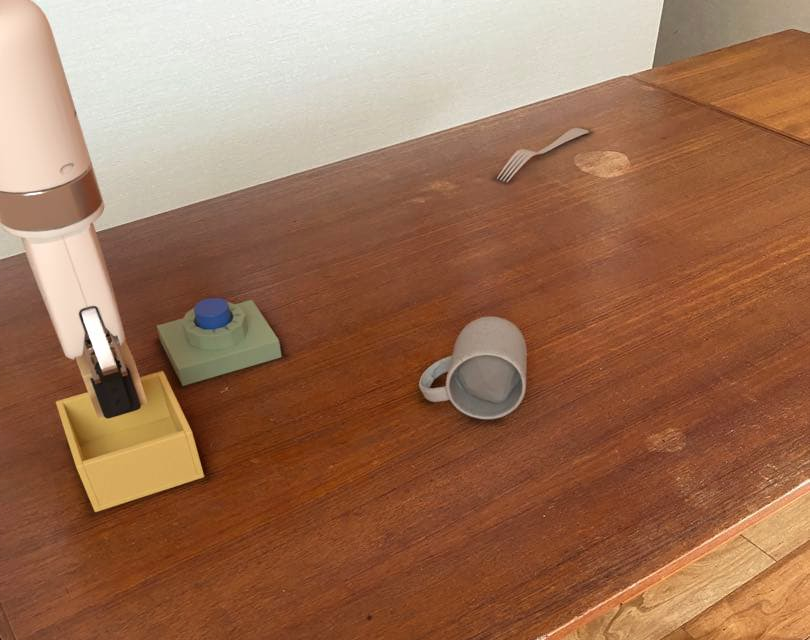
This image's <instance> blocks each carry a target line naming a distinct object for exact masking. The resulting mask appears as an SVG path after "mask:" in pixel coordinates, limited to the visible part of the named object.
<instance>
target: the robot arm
mask: <svg viewBox="0 0 810 640" xmlns="http://www.w3.org/2000/svg"><path fill="white" fill-rule="evenodd" d="M104 210H105V202H104V200H103V196H102V193H101V189H100V185H99V182H98V180H97V176H96V172H95V169H94V166H93V162H92V159H91V156H90V153H89V149H88V145H87V142H86V139H85V136H84V132H83V130H82V126H81V122H80V119H79V116H78V113H77V110H76V106H75V103H74V99H73V96H72V93H71V89H70V86H69V83H68V80H67V76H66V72H65V69H64V67H63V63H62V60H61V55H60V53H59V49H58V46H57V43H56V40H55V36H54V33H53V29H52V27H51V25H50V22H49V19H48V18H47V15H46V14H45V12H44V10H43V9H42V8H41V7H40V6H39V5H37V4H36V2H34V1H33V0H0V226H1V228H2V230H3V231H4V232H5V233H7V234H9V235H11V236H14V237H18V238H20V239H21V243H22V246H23V249H24V252H25V255H26V258H27V260H28V264H29V266H30V269H31V272H32V274H33V277H34V279H35V282H36V284H37V288H38V290H39V292H40V295H41V297H42V300H43V302H44V305H45V307H46V311H47V313H48V316H49V318H50V321H51V323H52V325H53V329H54V331H55V334H56V336H57V339H58V341H59V344H60V346H61V349H62V351H63V354H64V356H65V357H66V358H68V359H70V360H73V361H74V360H76V357H80V356H82V355H83V353H84V355H85V357H86V360H87V363H88V365H89V368H90V371H91V373H92V376H93V378H90V380H91V383H92V385H93V388H94V391H95V393H96V396H97V399H98V402H99V404H100V407H101V410H102V412H103V415H104V417H105V418H108V419H109V418H113V417H116V416H119V415H123V414H126V413H129V412H133V411H136V410H139V409H140V408H141V405H140V401H139V398H138V395H137V392H136V389H135V386H134V383H133V380H132V377H131V374H130V371H129V368H126V367H125V364H124V361H123V358H122V355H121V352H120V349H119V346H118V344H119V345H120V346H122V345H123V343H124V342H125V341H126V335H125V331H124V326H123V323H122V317H121V313H120V310H119V307H118V303H117V298H116V295H115V291H114V288H113V285H112V281H111V277H110V274H109V270H108V267H107V264H106V260H105V256H104V254H103V250H102V247H101V244H100V241H99V237H98V234H97V231H96V227H95V224H94V222H95V221H97V220H98V219H99V218H100V217H101V216H102V215H103V213H104ZM111 349H112V350H113V353H114V356H115V357H113V354H112V351H111ZM93 354H96V357H97V360H98V362H96V365H95V363H94V360H93V357H92V355H93Z"/></svg>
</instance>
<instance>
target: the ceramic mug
mask: <svg viewBox="0 0 810 640" xmlns="http://www.w3.org/2000/svg"><path fill="white" fill-rule="evenodd" d="M452 350H453V352H452V354H451V355H449V356H447V357H444V358H441V359H439V360H437V361H435V362H433V364H431V365H430V366H428V368H427V369H426V370H424V371H423V373H422V375H421V376H420V378H419V381H418V388H419V390H420V392H421V394H422V395H423V397H424V399H426V400H427V401H429V402H432V403H441V402H447V401H450V402H451V404H452V406H454V407H455V408H456V409H457V411H459V412H460V413H463V415H466V416H468V417H471V418H474V419H478V420H479V419H480V420H495V419H496V420H497V419H500V418H503V417H505V416H507V415H509V414H511V413H512V412H513V411H515V410H516V409H517V408H518V407H519V406H520V404H521V403H522V401H523V400H524V398H525V395H526V391H527V370H528V369H527V368H528V367H527V365H528V364H527V361H528V360H527V359H528V351H527V350H528V349H527V344H526V340H525V337H524V334H523V333H522V331H521V330H520V329H519V327H518V326H517V325H516V324H515V323H513V322H512V321H510V320H508V319H507V318H504V317H500V316H496V315H485V316H480V317H477V318H476V319H474V320H471V321H470V322H468V324H467V325H465V326H464V328H462V330H461V331H460V333H459V334H458V336H457V338H456V340H455V343H454V347H453V349H452ZM444 374H446V379H445V385H444V386H441V387H432V384H433V383H434V381H435V380H436V379H438V378H439V377H440V376H442V375H444Z"/></svg>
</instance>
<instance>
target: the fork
mask: <svg viewBox="0 0 810 640" xmlns="http://www.w3.org/2000/svg"><path fill="white" fill-rule="evenodd" d="M589 133H590V131H589V130H588V129H584V128H581V127H573V128H570V129H569V130H567V131H566V132H565V133H563V134H562V135H560V136H559V137H558V138H557V139H556V140H555V141H553V142H552V143H550V144H549V145H547V146H545V147H544V148H542V149H540V150H538V151H534V150H530V149H526V148H519V149H517V150H516V151H515V152H514V154H512V156H511V157H510V158H509V159H508V161H507V163H505V165H504V166H503V168H502V169H501V171H500V173H499V174H498V176H497V178H496V180H498V179H499V178H500V179H499V181H502V182H505V181H506V183H509V181H510V180H511V179H512V177H514V175H515V174H516V173H517V172H518V171H520V169H521V168H522V167H523V166H524V164H525V163H526V162H528V160H530V159H531V158H532V157H534V156H537V155H538V156H539V155H542V154H545V153H547V152H550V151H551V150H553V149H555V148H557V147H559V146H560V145H563V144H566V143H567V142H569V141H571V140H574V139H576V138H579V137H581V136H583V135H587V134H589ZM508 177H509V178H508ZM507 178H508V179H507Z"/></svg>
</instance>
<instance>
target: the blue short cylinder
mask: <svg viewBox="0 0 810 640" xmlns="http://www.w3.org/2000/svg"><path fill="white" fill-rule="evenodd" d="M227 302H228V301H227V300H225V299H223V298H220V297H209V298H204V299H202V300H200V301H198V302H197V303H196V304H195V305H194V306H193V308H194V312H195V317H196V321H197V325H198V326H199V327H200V328H202V329H212V330H214V329H218V328H221V327H225V326H226V325H227V324H229V323H230V322H231V315H230V310H229V305H228V303H227Z"/></svg>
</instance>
